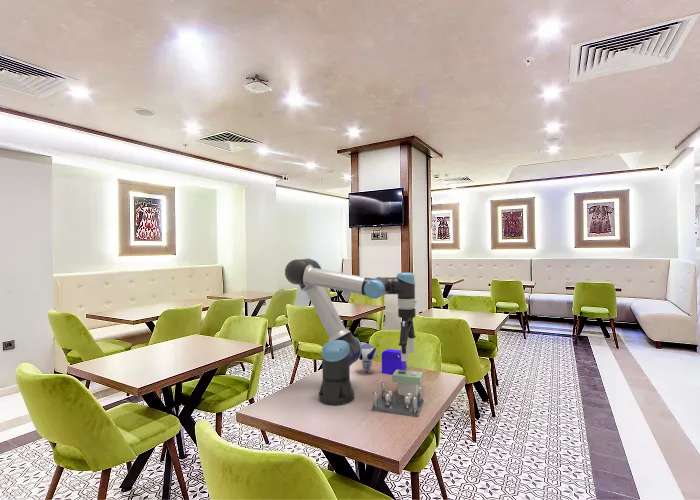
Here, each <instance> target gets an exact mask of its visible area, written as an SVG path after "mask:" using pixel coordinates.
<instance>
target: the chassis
mask: <svg viewBox="0 0 700 500" xmlns="http://www.w3.org/2000/svg"><path fill="white" fill-rule="evenodd" d="M380 391H381V395H380V396H379V397H378V391H373V394H372V395H373V396H372V397H373V402H372V403H373V404H372V407H371V411H373V412H379V413H385V414H386V413H388V414H395V415H401V416H402V415H403V416H406V417H407V416H410V417H416V418H417V417H419V415H420V413H421V410H422V408H423V405H424V403H425V400H424V399H423V386H421V385H418V395H417V397H412V393H411V392H407V396H404V395H403V396H397V395H393V390H392V389H387V392H386V382H384V381H383V382H381V389H380Z"/></svg>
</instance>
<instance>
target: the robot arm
mask: <svg viewBox="0 0 700 500" xmlns="http://www.w3.org/2000/svg"><path fill="white" fill-rule="evenodd" d="M284 277H285V279H286V280H287V281H288V282H289V283H290V284H292V285H296V286H297V285H298V286H299V287H300V289H301V291H302V292H305V293H306V295H307V296H308V298H309V300H310V302H311V304H312V307H313V308H314V310H315V312H316V314H317V315H318V318H319V320H320V321H321V324H322V326H323V328H324V329H325V331H326V334H327V335H328V342H325V343H324V344H323V346H322V349H321V363H322V364H321V369H322V380H321V385H320V388H319V392H318V401H319V402H320V403H323V404H324V405H329V406H330V405H331V406H340V405H341V406H342V405H346V404H349V403H351V402H352V401H354V399H355V392H354V388H353V385H352V383H351V377H350V375H351V373H350V372H351V371H350V368H351V366H352V365H353V364H354V363H356V362H357V361H358V360H359V357H360V355H361V352H362V343H361V342H360V341H361V340H359V338H357V337H355V336H354V335H353V334H352V332H351V330H349V329H347V328H346V327H345V324H344V323H343V321H342V320H341V316H339V314H338V312H337V310H336V307H335V305H334V304H333V301H332V300H331V298H330V296H329V294H328V292H327V290H326V288H327V289H332V290H336V291H342V292H346V293H347V292H348V293H352V294H357V295H362V296H366V297H368V298H370V299H373V300H375V299H379V298H381V297H383V296H385V295H397V307H398V308H397V314H398V315H397V316H398V318H400V319H402V321H400V333H399V334H400V335H399V343H398V346H399V347H400V350H401V361H406V363H407V362H409V354H415V339H416V334H415V326H414V318H415V317H416V303H417V300H416V282H415V281H416V280H415V275H414V273H413V272H398V273H397V275H396V276H395V277H394V276H393V277H389V276H388V277H384V276H377V277H366V276H360V275H355V274H349V273H345V272H338V271H333V270H328V269H323V268H322V266H321V264H320V263H319V262H318V261H317V260H315V259H311V258H300V259H299V258H298V259H293V260H291V261H289V262H288V263H287V264H286V266H285V267H284Z"/></svg>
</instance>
